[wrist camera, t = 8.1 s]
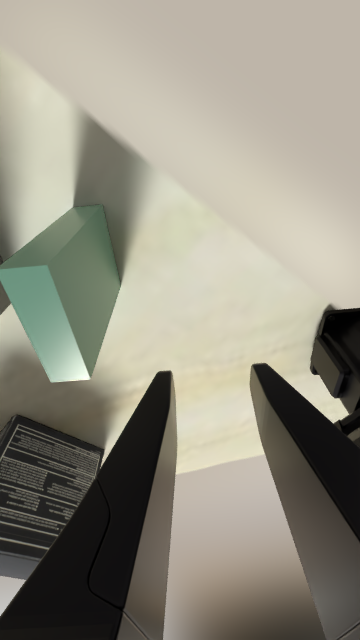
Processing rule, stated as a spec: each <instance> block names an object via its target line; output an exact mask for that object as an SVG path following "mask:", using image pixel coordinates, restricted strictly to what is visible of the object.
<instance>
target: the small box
mask: <svg viewBox="0 0 360 640" xmlns="http://www.w3.org/2000/svg"><path fill="white" fill-rule="evenodd" d="M103 456H104V450H103V449H101V448H98V447H95V446H93V445H90V444H88V443H86V442H83V441H81V440H78V439H76V438H73V437H71V436H68V435H66V434H63V433H61V432H58V431H56V430H53V429H51V428H48V427H46V426H43V425H41V424H39V423H36V422H34V421H31V420H29V419H26V418H24V417H21V416H19V415H15V416H13V417H12V418H11V419H10V421H9V422H8V423H7V425H6V426H5V427H4V428H3V430H1V432H0V576H6V577H12V578H18V579H24V580H27V579H28V577H29V576H30V574H31V573H32V572H33V570H34V569H35V567H36V566H37V565H38V563H39V562H40V560H41V559H42V558H43V556H44V555H45V554H46V552H47V551H48V549H49V548H50V547H51V545H52V544H53V542H54V541H55V539H56V538H57V537H58V535H59V534H60V532H61V531H62V529H63V528H64V526H65V525H66V524H67V522H68V521H69V519H70V518H71V516H72V514H73V513H74V511H75V510H76V508H77V507H78V505H79V503H80V502H81V500H82V499H83V497H84V495H85V494H86V492H87V490H88V489H89V487H90V485H91V483H92V482H93V480H94V479H97V478H96V475H97V474H98V472H99V470H100V467H101V463H102V458H103Z"/></svg>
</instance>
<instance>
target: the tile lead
mask: <svg viewBox="0 0 360 640" xmlns="http://www.w3.org/2000/svg"><path fill="white" fill-rule="evenodd" d="M0 281H1V283H2V285H3V287H4V289H5V291H6V293H7V295H8V297H9V299H10V301H11V303H12V305H13V307H14V309H15V311H16V313H17V315H18V317H19V319H20V321H21V323H22V325H23V327H24V329H25V331H26V333H27V335H28V337H29V339H30V341H31V344H32V346H33V348H34V350H35V352H36V354H37V356H38V358H39V360H40V362H41V364H42V366H43V368H44V370H45V372H46V374H47V376H48V378H49V380H50V382H64V381H77V380H90V379H91V376H92V373H93V370H94V367H95V364H96V361H97V358H98V355H99V352H100V349H101V345H102V342H103V339H104V336H105V333H106V330H107V327H108V324H109V321H110V318H111V315H112V312H113V309H114V306H115V303H116V299H117V296H118V293H119V290H120V287H121V284H120V279H119V275H118V271H117V266H116V262H115V258H114V253H113V249H112V244H111V240H110V236H109V231H108V227H107V222H106V218H105V214H104V209H103V205H92V206H81V207H73V208H71V209H70V210H69V211H68V212H66V213H65V214H64V215H63V216H61V217H60V218H59V219H58V220H56V221H55V222H54V223H53V224H51V225H50V226H49V227H48V228H46V229H45V230H44V231H43V232H41V233H40V234H39V235H38V236H36V237H35V238H34V239H33V240H31V241H30V242H29V243H28V244H26V245H25V246H24V247H23V248H21V249H20V250H19V251H18V252H16V253H15V254H14V255H13V256H11V257H10V258H9V259H8V260H6V261H5V262H4V263H3V264H1V265H0Z"/></svg>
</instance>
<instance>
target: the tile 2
mask: <svg viewBox="0 0 360 640" xmlns="http://www.w3.org/2000/svg"><path fill="white" fill-rule="evenodd" d="M1 264H3V261H2V259H1V256H0V265H1ZM10 304H11V301H10V299H9V297H8V295H7V293H6V291H5V289H4V287H3V285H2V283H1V281H0V315H1V314H2V313H3V311H4V310H5V309H6V308H7V307H8V306H9V305H10Z"/></svg>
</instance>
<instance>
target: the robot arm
mask: <svg viewBox="0 0 360 640" xmlns="http://www.w3.org/2000/svg"><path fill="white" fill-rule="evenodd" d="M330 316H332V317H331V318H329V317H330ZM328 318H329V319H328ZM310 370H311V372H312V374H314V375H320V377H321V379H322V380H323V382H324V384H325V385H326V387H327V389H328V391H329V392H330V394H331V395H332V396H333V397H334V398H340V400H341V402H342V403H343V405H344V407H345V408H346V410H347V411H348V413H349V415H348V416H346V417H345V418H343V419H342V420H338V421H337V422H335V423H334V424H333V423H332V422H331V421H330V420H329V419H328V418H326V417H325V416H324V415H323V414H322V413H321V412H320V411H319V410H318V409H316V408H315V407H314V406H313V405H312V404H311V403H310V402H309V401H308V400H307V399H305V398H304V397H303V396H302V395H301V394H300V393H299V392H298V391H297V390H295V389H294V388H293V387H292V386H291V385H290V384H289V383H288V382H287V381H286V380H284V379H283V378H282V377H281V376H280V375H279V374H278V373H277V372H276V371H274V370H273V369H272V368H271V367H270V366H269V365H268V364H266V363H257V364H253V365H252V366H251V374H250V391H251V396H252V401H253V406H254V411H255V415H256V420H257V425H258V430H259V434H260V439H261V442H262V446H263V449H264V452H265V455H266V458H267V461H268V464H269V467H270V470H271V473H272V476H273V479H274V482H275V485H276V488H277V491H278V494H279V497H280V500H281V503H282V506H283V510H284V512H285V515H286V519H287V521H288V525H289V528H290V530H291V534H292V536H293V540H294V543H295V546H296V548H297V552H298V555H299V558H300V561H301V564H302V567H303V570H304V573H305V576H306V579H307V582H308V585H309V588H310V591H311V594H312V597H313V600H314V603H315V606H316V609H317V612H318V615H319V618H320V621H321V624H322V627H323V630H324V633H325V636H326V640H360V308H354V309H342V310H330V311H327V312H325V313H324V314H323V317H322V321H321V325H320V329H319V333H318V336H317V337H316V339H315V343H314V347H313V351H312V356H311V366H310ZM176 459H177V422H176V399H175V388H174V381H173V374H172V372H171V371H159V372H158V373H157V374H156V376H155V377H154V379H153V381H152V382H151V384H150V386H149V387H148V389H147V391H146V393H145V394H144V396H143V398H142V399H141V401H140V403H139V404H138V406H137V408H136V409H135V411H134V413H133V415H132V416H131V418H130V420H129V421H128V423H127V425H126V426H125V428H124V430H123V431H122V433H121V435H120V436H119V438H118V440H117V442H116V443H115V445H114V447H113V448H112V450H111V452H110V453H109V455H108V457H107V458H106V460H105V462H104V463H103V465H102V467H101V469H100V470H99V472H98V474H97V475H96V478H97V479H94V480H93V482H92V483H91V485H90V487H89V489H88V490H87V492H86V494H85V495H84V497H83V499H82V500H81V502H80V503H79V505H78V507H77V508H76V510H75V511H74V513H73V514H72V516H71V518H70V519H69V521H68V522H67V524H66V525H65V526H64V528H63V529H62V531H61V532H60V534H59V535H58V537H57V538H56V539H55V541H54V542H53V544H52V545H51V547H50V548H49V549H48V551H47V552H46V554H45V555H44V556H43V558H42V559H41V560H40V562H39V563H38V565H37V566H36V567H35V569H34V570H33V572H32V573H31V574H30V576H29V577H28V579H27V580H26V581H25V583H24V584H23V585H22V587H21V588H20V590H19V591H18V592H17V594H16V595H15V597H14V598H13V599H12V601H11V602H10V604H9V605H8V606H7V608H6V609H5V611H4V612H3V613H2V615H1V616H0V640H163V631H164V616H165V605H166V591H167V578H168V577H167V576H168V565H169V552H170V551H169V550H170V538H171V525H172V512H173V499H174V497H173V496H174V485H175V472H176Z"/></svg>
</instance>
